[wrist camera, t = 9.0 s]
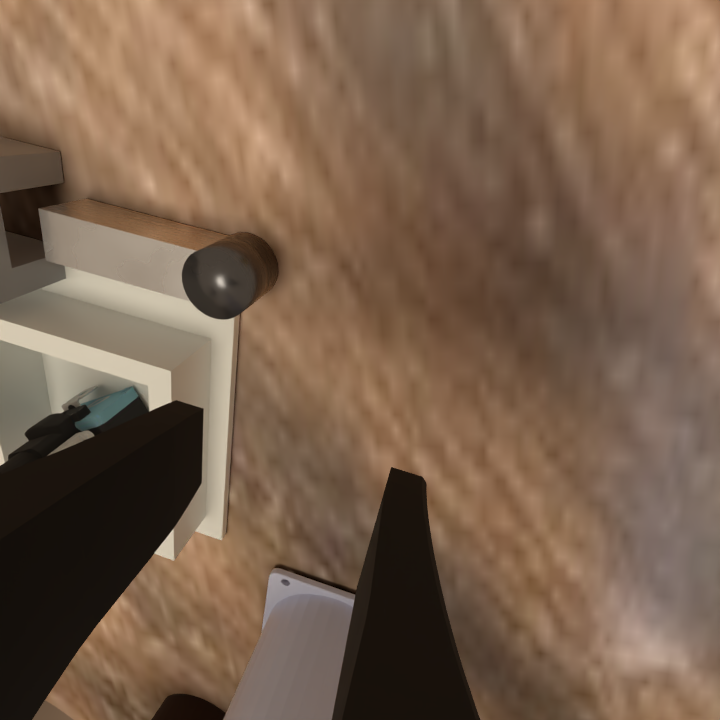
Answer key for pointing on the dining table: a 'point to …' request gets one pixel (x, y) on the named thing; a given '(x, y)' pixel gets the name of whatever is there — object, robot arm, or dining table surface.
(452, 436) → the dining table surface
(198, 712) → the coffee mug
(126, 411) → the push button
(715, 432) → the dining table surface
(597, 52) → the dining table surface
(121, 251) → the pin
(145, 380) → the dock
